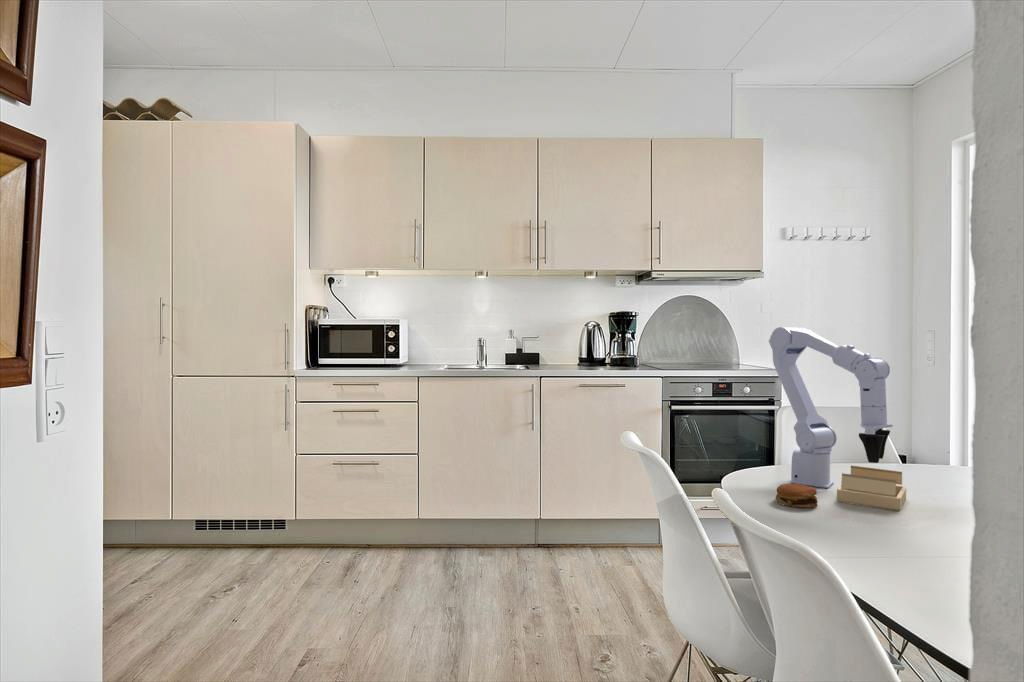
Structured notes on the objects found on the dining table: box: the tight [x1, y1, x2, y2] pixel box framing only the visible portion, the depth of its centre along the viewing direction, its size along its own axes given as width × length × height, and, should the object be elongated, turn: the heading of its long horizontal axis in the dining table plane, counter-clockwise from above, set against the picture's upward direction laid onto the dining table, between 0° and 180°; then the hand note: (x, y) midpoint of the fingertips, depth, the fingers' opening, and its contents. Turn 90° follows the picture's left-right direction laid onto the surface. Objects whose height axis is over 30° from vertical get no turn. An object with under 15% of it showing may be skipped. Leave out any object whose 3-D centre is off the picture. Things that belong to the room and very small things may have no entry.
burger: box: [775, 483, 819, 508], centre depth 161 cm, size 10×9×5 cm
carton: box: [836, 484, 907, 512], centre depth 164 cm, size 14×14×3 cm
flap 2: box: [840, 472, 897, 496], centre depth 159 cm, size 12×1×4 cm, turn 53°
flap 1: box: [850, 464, 903, 486], centre depth 169 cm, size 12×1×4 cm, turn 53°
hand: (875, 460), depth 166 cm, fingers open, 7 cm apart
